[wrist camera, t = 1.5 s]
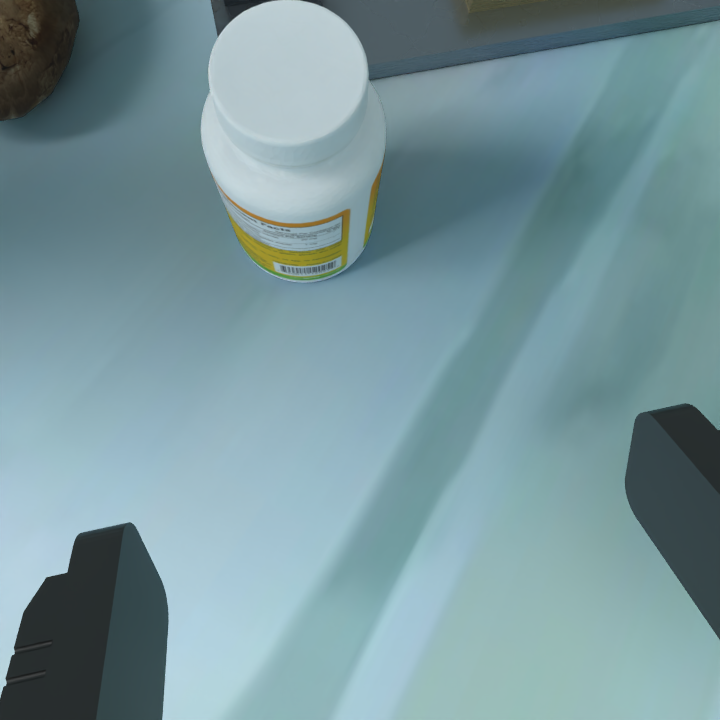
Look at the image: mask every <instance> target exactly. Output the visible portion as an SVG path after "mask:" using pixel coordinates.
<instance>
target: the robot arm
mask: <svg viewBox="0 0 720 720" xmlns="http://www.w3.org/2000/svg"><path fill="white" fill-rule="evenodd" d="M625 489H626V494H627V498H628V501H629V504H630V507H631V509H632V511H633V513H634V515H635V516H636V518H637V520H638V521H639V523H640V524H641V525H642V527H643V528H644V530H645V531H646V533H647V534H648V536H649V537H650V539H651V540H652V541H653V543H654V544H655V546H656V547H657V549H658V550H659V552H660V553H661V555H662V556H663V558H664V559H665V560H666V562H667V563H668V565H669V566H670V568H671V569H672V571H673V572H674V574H675V575H676V576H677V578H678V579H679V581H680V582H681V584H682V585H683V587H684V588H685V590H686V591H687V593H688V594H689V595H690V597H691V598H692V600H693V601H694V603H695V604H696V606H697V607H698V609H699V610H700V611H701V613H702V614H703V616H704V617H705V619H706V620H707V622H708V623H709V625H710V626H711V627H712V629H713V630H714V632H715V633H716V635H717V636H718V638H719V639H720V430H717V429H716V428H715V427H714V426H713V425H712V424H711V423H710V422H709V421H708V419H707V418H706V417H705V416H704V415H703V414H702V413H701V412H700V411H699V410H698V409H697V408H696V407H694V406H693V405H690V404H686V403H685V404H680V405H676V406H671V407H666V408H662V409H657V410H653V411H648V412H643V413H640V414H639V415H638V416H637V417H636V419H635V423H634V429H633V435H632V441H631V446H630V452H629V458H628V464H627V470H626V476H625ZM167 636H168V605H167V598H166V593H165V589H164V586H163V583H162V581H161V578H160V576H159V574H158V572H157V570H156V568H155V566H154V564H153V562H152V560H151V558H150V556H149V553H148V551H147V549H146V547H145V545H144V543H143V541H142V539H141V537H140V535H139V533H138V531H137V529H136V527H135V526H134V524H132V523H130V522H129V523H125V524H120V525H115V526H111V527H106V528H102V529H97V530H92V531H88V532H83V533H80V534H78V536H77V537H76V539H75V541H74V545H73V549H72V554H71V559H70V563H69V568H68V572H67V573H64V574H60V575H55V576H51V577H47V578H46V579H45V581H44V582H43V584H42V585H41V587H40V588H39V590H38V591H37V593H36V594H35V596H34V597H33V599H32V600H31V602H30V603H29V605H28V606H27V608H26V609H25V611H24V612H23V616H22V620H21V624H20V627H19V631H18V635H17V639H16V642H15V646H14V650H15V654H14V655H12V657H11V661H10V665H9V668H8V672H7V676H6V681H7V684H6V686H4V687H3V691H2V694H1V698H0V720H162V714H163V699H164V683H165V667H166V652H167Z"/></svg>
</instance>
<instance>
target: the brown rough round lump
mask: <svg viewBox="0 0 720 720" xmlns="http://www.w3.org/2000/svg"><path fill="white" fill-rule="evenodd" d="M78 25H79V14H78V10H77V6H76V3H75V0H0V121H3V120H8V119H14V118H19V117H23V116H24V115H26V114H27V113H28V112H29V111H31V110H32V109H33V108H34V107H36V106H37V105H38V104H39V103H41V102H42V101H43V100H44V99H45V98H47V97H48V96H49V95H50V94H51V93H52V92H53V90H54V88H55V86H56V84H57V82H58V81H59V79H60V77H61V75H62V73H63V72H64V70H65V68H66V66H67V64H68V62H69V60H70V56H71V52H72V48H73V44H74V40H75V36H76V33H77V29H78Z"/></svg>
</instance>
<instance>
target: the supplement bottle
mask: <svg viewBox="0 0 720 720" xmlns="http://www.w3.org/2000/svg"><path fill="white" fill-rule="evenodd" d="M208 81H209V87H210V92H209V94H208V96H207V99H206V102H205V105H204V108H203V113H202V118H201V139H202V146H203V150H204V154H205V157H206V160H207V164H208V166H209V169H210V172H211V174H212V176H213V179H214V181H215V184H216V186H217V189H218V191H219V193H220V196H221V198H222V201H223V203H224V205H225V208H226V210H227V213H228V216H229V218H230V221H231V223H232V226H233V228H234V231H235V233H236V236H237V238H238V240H239V242H240V244H241V246H242V248H243V249H244V251H245V252H246V254H247V255H248V256H249V257H250V259H251V260H252V261H253V262H254V263H255V264H256V265H257V266H258V267H260V268H261V269H262V270H264V271H265V272H267V273H269V274H270V275H273V276H275V277H277V278H280V279H283V280H287V281H292V282H299V283H309V282H317V281H322V280H325V279H328V278H331V277H333V276H335V275H337V274H339V273H341V272H343V271H344V270H345V269H347V268H348V267H349V266H350V265H351V264H353V263H354V262H355V261H356V259H357V258H358V257H359V256H360V254H361V253H362V251H363V250H364V248H365V246H366V244H367V242H368V240H369V237H370V234H371V230H372V226H373V221H374V214H375V208H376V201H377V195H378V189H379V183H380V177H381V172H382V166H383V161H384V155H385V147H386V121H385V115H384V111H383V107H382V104H381V101H380V98H379V96H378V94H377V92H376V90H375V88H374V87H373V85H372V84H371V82H370V81H369V71H368V63H367V57H366V54H365V52H364V49H363V46H362V44H361V42H360V40H359V39H358V37H357V35H356V34H355V32H354V31H353V30H352V29H351V27H350V26H349V25H348V24H347V23H346V22H345V21H344V20H343V19H341V18H340V17H339V16H338V15H336V14H335V13H333V12H332V11H330V10H328V9H326V8H324V7H322V6H319V5H317V4H314V3H309V2H305V1H300V0H277V1H270V2H266V3H262V4H260V5H257V6H254V7H252V8H250V9H248V10H246V11H244V12H242V13H241V14H240V15H238V16H237V17H236V18H234V19H233V20H232V21H231V22H230V23H229V24H228V25H227V26H226V27H225V28H224V30H223V31H222V32H221V34H220V35H219V37H218V38H217V40H216V42H215V44H214V47H213V49H212V52H211V55H210V60H209V66H208Z"/></svg>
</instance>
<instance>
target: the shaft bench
mask: <svg viewBox="0 0 720 720" xmlns="http://www.w3.org/2000/svg"><path fill="white" fill-rule="evenodd" d="M270 1H277V0H211V4H212V9H213V14H214V19H215V24H216V29H217V34H218V37H219V35H220V34H221V32H222V31H223V30H224V28H225V27H226V26H227V25H228V24H229V23H230V22H231V21H232V20H233V19H234V18H236V17H237V16H238V15H240V14H241V13H242V12H244V11H246V10H248V9H250V8H252V7H254V6H257V5H260V4H262V3H266V2H270ZM300 1H305V2H309V3H314V4H317V5H319V6H322V7H324V8H326V9H328V10H330V11H332V12H333V13H335V14H336V15H338V16H339V17H340V18H341V19H343V20H344V21H345V22H346V23H347V24H348V25H349V26H350V27H351V29H352V30H353V31H354V32H355V34H356V35H357V37H358V39H359V40H360V42H361V44H362V46H363V49H364V52H365V54H366V57H367V63H368V71H369V80H371V79H377V78H383V77H389V76H394V75H400V74H406V73H412V72H418V71H423V70H429V69H435V68H441V67H447V66H453V65H458V64H464V63H470V62H476V61H482V60H488V59H493V58H499V57H505V56H511V55H517V54H523V53H528V52H534V51H540V50H546V49H552V48H558V47H563V46H569V45H575V44H581V43H587V42H593V41H598V40H604V39H610V38H616V37H622V36H628V35H633V34H639V33H645V32H651V31H657V30H663V29H668V28H674V27H680V26H686V25H692V24H698V23H703V22H709V21H715V20H720V0H300Z"/></svg>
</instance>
